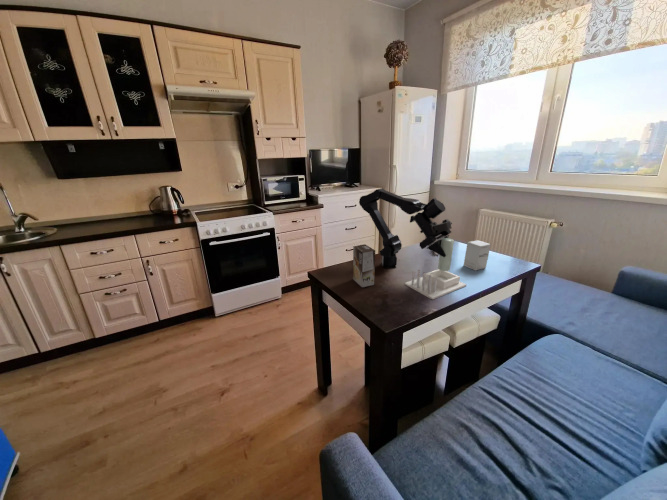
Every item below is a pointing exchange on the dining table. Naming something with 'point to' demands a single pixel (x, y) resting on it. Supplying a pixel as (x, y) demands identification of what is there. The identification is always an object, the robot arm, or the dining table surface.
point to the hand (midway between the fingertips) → (447, 254)
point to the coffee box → (363, 265)
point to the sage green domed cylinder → (448, 249)
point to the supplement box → (476, 255)
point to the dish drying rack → (435, 283)
